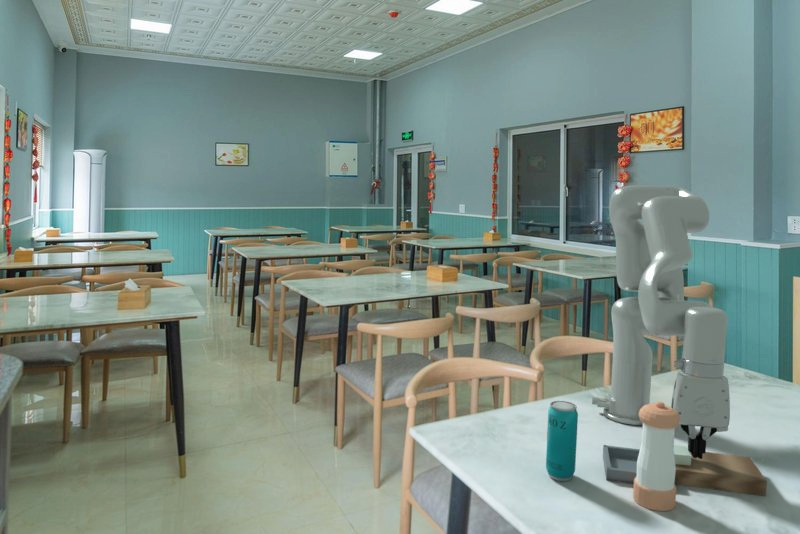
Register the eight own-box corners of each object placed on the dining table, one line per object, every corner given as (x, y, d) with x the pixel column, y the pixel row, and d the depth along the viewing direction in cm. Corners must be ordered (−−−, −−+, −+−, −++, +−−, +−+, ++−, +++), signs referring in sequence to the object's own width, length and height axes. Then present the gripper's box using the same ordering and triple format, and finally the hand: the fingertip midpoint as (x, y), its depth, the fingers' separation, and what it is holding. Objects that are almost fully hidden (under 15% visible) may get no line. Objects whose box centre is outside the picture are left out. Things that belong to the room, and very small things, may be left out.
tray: (606, 480, 116) (607, 468, 116) (602, 455, 128) (603, 445, 127) (674, 489, 113) (675, 477, 112) (664, 463, 124) (665, 452, 124)
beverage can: (552, 467, 122) (555, 398, 120) (579, 475, 118) (582, 404, 116) (540, 476, 117) (543, 405, 115) (567, 485, 114) (571, 412, 112)
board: (674, 483, 115) (675, 469, 115) (665, 460, 125) (666, 447, 125) (765, 496, 111) (767, 481, 110) (748, 470, 121) (749, 457, 121)
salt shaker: (663, 491, 112) (669, 395, 110) (682, 511, 105) (690, 409, 103) (626, 491, 112) (632, 395, 110) (643, 511, 104) (649, 409, 102)
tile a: (663, 462, 118) (664, 453, 117) (659, 452, 122) (660, 443, 122) (690, 465, 116) (691, 456, 116) (685, 455, 121) (686, 446, 121)
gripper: (665, 370, 115) (659, 458, 117) (749, 377, 111) (742, 468, 113) (659, 360, 122) (653, 444, 124) (738, 366, 118) (731, 452, 120)
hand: (696, 455), depth 118 cm, fingers closed
